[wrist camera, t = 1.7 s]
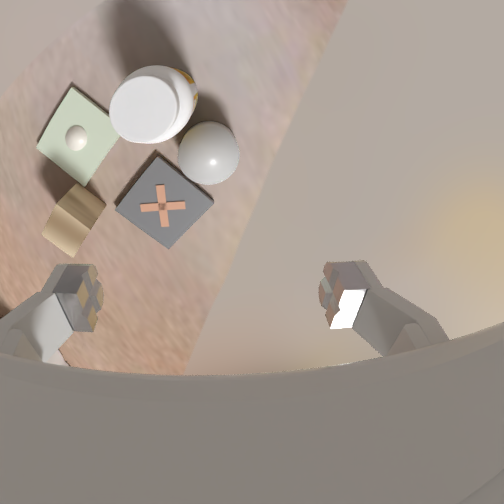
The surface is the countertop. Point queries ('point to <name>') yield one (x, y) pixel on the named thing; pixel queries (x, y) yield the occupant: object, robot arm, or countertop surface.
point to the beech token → (73, 219)
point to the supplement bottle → (153, 104)
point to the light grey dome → (208, 153)
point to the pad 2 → (164, 203)
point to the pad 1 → (78, 136)
